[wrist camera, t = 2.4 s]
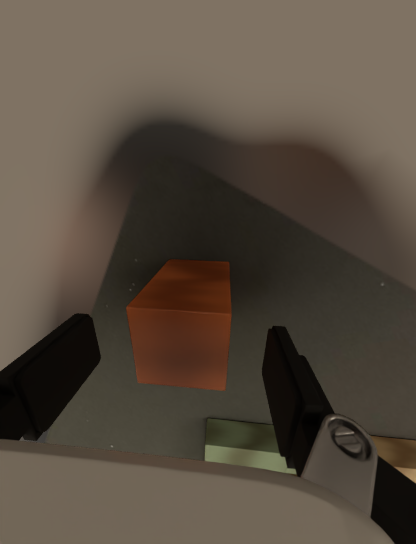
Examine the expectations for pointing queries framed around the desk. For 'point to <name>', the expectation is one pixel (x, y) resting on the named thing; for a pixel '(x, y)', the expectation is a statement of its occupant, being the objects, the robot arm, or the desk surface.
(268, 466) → the green and tan board
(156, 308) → the reddish brown rectangular block
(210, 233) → the desk surface
